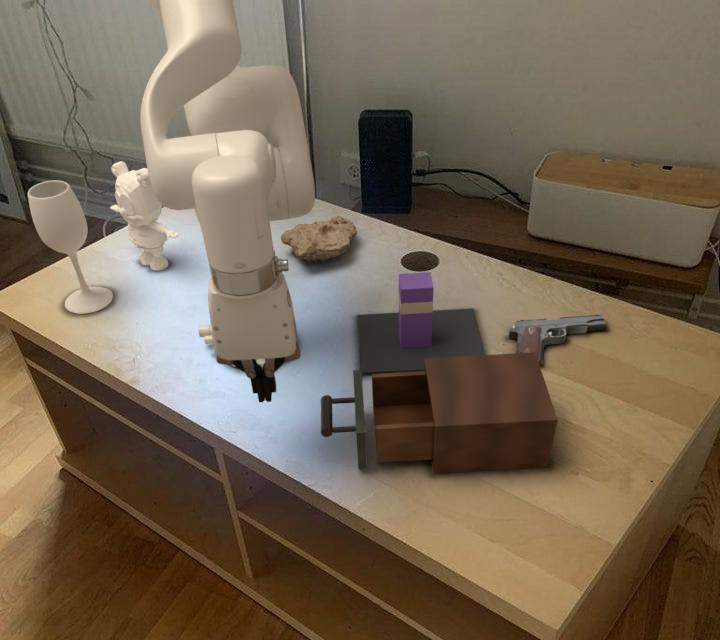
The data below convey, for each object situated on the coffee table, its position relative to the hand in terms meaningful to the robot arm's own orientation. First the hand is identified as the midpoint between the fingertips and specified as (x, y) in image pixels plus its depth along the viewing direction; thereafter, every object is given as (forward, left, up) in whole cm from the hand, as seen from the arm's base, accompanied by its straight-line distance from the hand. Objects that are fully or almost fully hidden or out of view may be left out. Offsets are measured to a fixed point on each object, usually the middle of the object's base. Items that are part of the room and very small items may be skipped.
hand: (265, 395), depth 96 cm
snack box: (+22, +24, -9) cm, 34 cm away
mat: (+23, +24, -10) cm, 34 cm away
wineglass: (-36, +42, -10) cm, 56 cm away
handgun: (+44, +23, -10) cm, 50 cm away
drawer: (+17, +1, -9) cm, 19 cm away
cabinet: (+30, +1, -10) cm, 32 cm away
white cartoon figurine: (-26, +54, -10) cm, 60 cm away
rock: (+7, +55, -10) cm, 56 cm away
